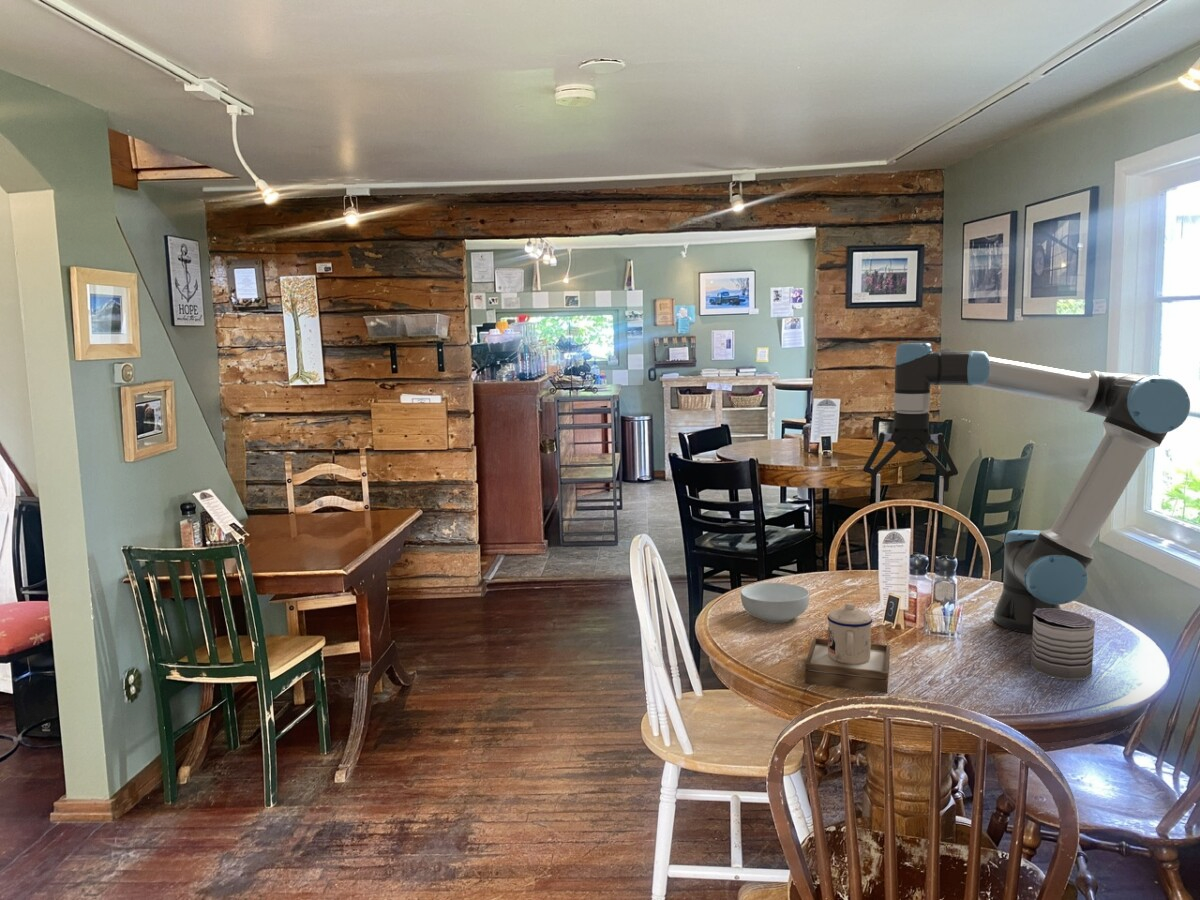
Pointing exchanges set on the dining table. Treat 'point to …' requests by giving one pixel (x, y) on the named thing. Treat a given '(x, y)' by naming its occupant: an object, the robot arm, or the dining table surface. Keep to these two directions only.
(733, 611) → the dining table surface
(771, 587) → the cereal bowl
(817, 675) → the wooden box
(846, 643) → the teacup with lid
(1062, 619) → the can
